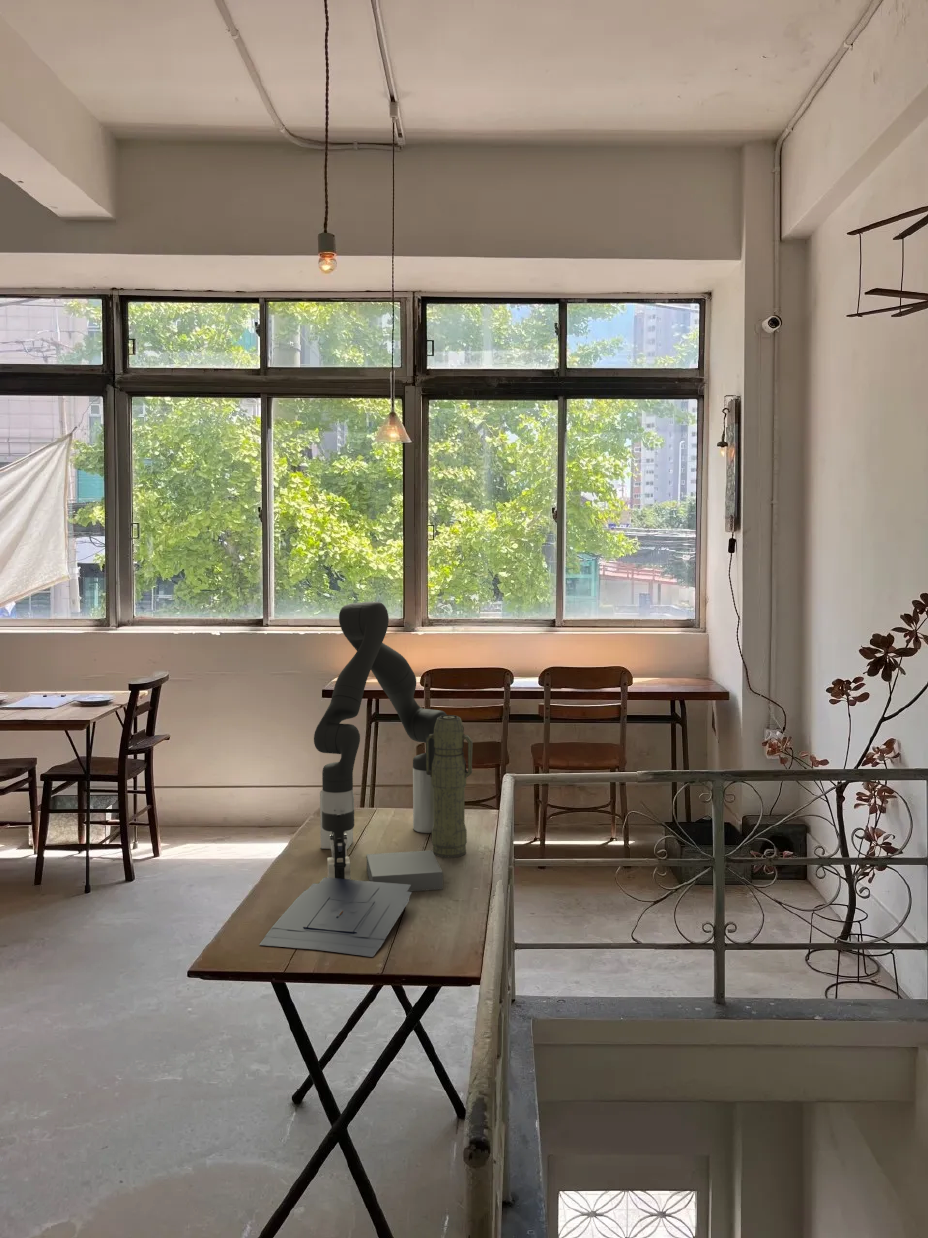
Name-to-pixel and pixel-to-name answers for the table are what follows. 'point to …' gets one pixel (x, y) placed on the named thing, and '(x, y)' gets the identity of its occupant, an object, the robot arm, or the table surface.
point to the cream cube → (332, 870)
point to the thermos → (449, 785)
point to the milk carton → (326, 834)
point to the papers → (341, 916)
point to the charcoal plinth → (406, 869)
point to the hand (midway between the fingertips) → (338, 877)
